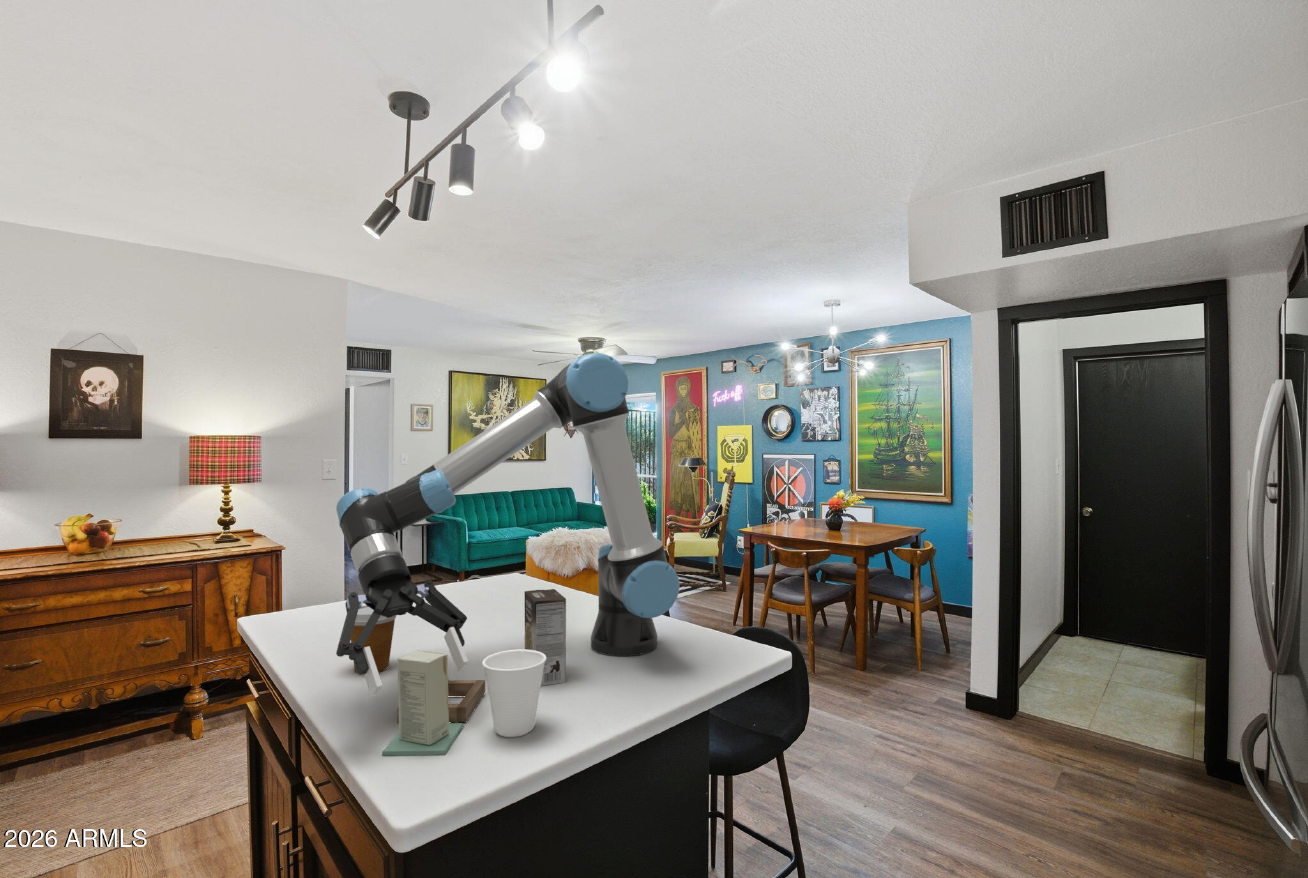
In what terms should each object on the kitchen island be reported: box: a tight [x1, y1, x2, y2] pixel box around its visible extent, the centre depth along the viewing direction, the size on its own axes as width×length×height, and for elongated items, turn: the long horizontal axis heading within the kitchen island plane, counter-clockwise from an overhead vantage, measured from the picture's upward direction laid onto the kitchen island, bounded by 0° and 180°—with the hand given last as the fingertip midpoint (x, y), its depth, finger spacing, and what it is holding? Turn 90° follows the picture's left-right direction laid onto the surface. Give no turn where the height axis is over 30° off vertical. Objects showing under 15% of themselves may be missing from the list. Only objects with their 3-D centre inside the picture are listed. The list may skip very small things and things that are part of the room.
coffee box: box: [524, 588, 567, 687], centre depth 119 cm, size 9×6×16 cm
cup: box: [482, 648, 546, 738], centre depth 96 cm, size 10×10×11 cm
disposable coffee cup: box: [350, 604, 397, 674], centre depth 124 cm, size 10×10×12 cm
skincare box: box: [397, 650, 449, 745], centre depth 92 cm, size 6×4×12 cm
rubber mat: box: [381, 723, 464, 757], centre depth 92 cm, size 9×9×1 cm
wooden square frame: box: [396, 679, 486, 725], centre depth 104 cm, size 11×12×2 cm
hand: (422, 678), depth 93 cm, fingers open, 13 cm apart
